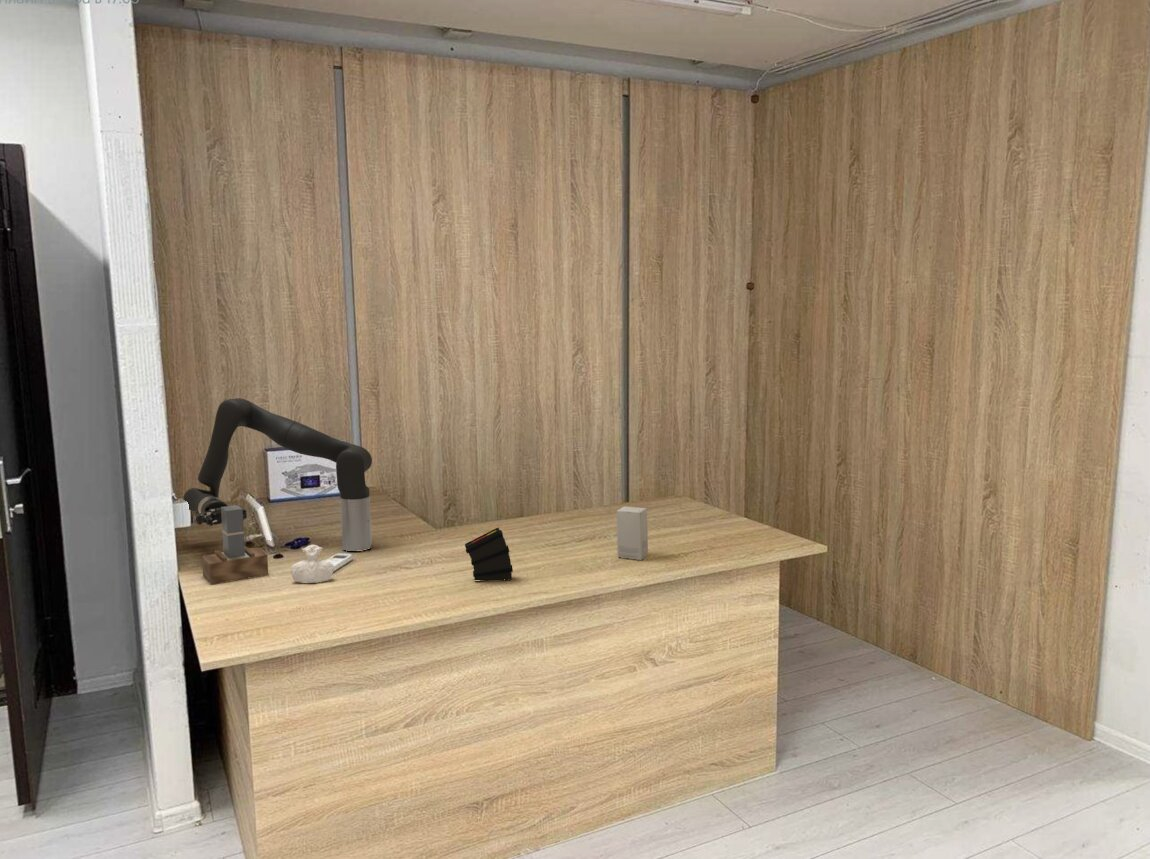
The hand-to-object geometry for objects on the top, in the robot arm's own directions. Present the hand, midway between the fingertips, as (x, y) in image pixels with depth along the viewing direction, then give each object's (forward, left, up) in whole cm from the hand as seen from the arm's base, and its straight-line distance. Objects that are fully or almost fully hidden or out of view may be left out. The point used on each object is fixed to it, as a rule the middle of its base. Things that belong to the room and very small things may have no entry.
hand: (226, 520), depth 262 cm
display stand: (-3, +6, -15) cm, 17 cm away
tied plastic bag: (-26, +15, -15) cm, 34 cm away
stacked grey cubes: (-3, +6, -9) cm, 11 cm away
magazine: (-76, +23, -15) cm, 81 cm away
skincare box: (-122, +8, -15) cm, 123 cm away
